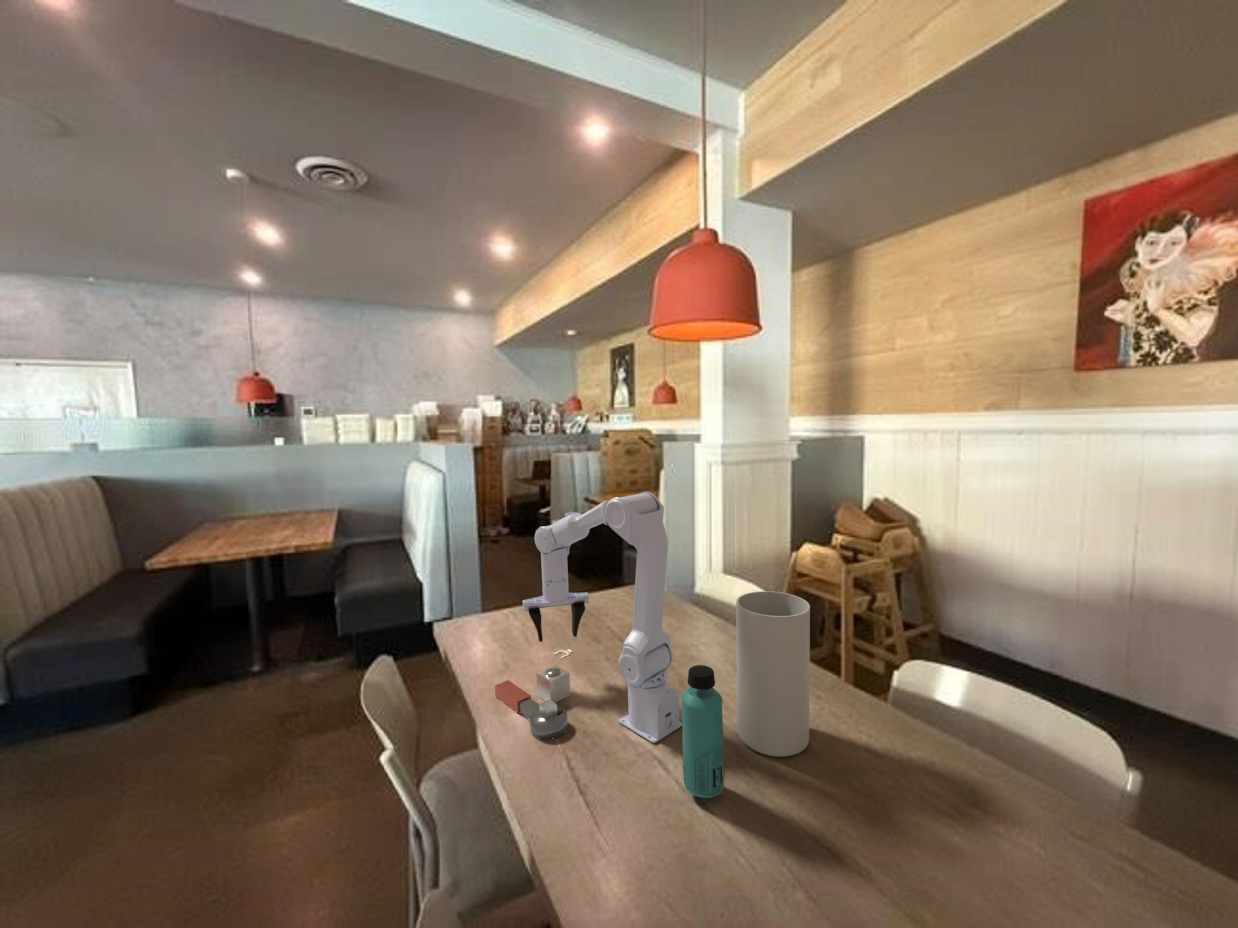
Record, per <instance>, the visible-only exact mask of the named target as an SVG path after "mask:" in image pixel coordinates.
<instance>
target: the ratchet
mask: <svg viewBox="0 0 1238 928" xmlns="http://www.w3.org/2000/svg"><path fill="white" fill-rule="evenodd" d="M494 691H495V696H496V697H495V698H496V699H498V698H499V699H500V700H499V699H498V700H499V701H501V702H502V701H503V702H504V703H506V704H507V705H508V706H509V707H508V706H507V705H506V704H505V705H506V706H507V707H508V708H510V707H511V708H512V709H513V711H514V710H515V711H516V712H518V713H519V712H520V713H521V714H523V716H522V717H524V716H525V717H526V718H527V719H526V718H525V717H524V718H525V719H526V720H528V719H529V720H530V721H529V720H528V721H529V728H530V729H529V730H530V731H531V732H530V735H531V736H532V735H533V736H535V737H538V738H540V739H539V740H541V739H551V740H553V739H552V738H555V739H557V738H556V737H558V738H559V736H560V737H561V735H562V734H563V735H564V734H566V732H567V730H568V713H567V710H566V709H564V707H562V706H558V705H557V702H555V703H554V702H553V701H551V700H547V701H545V700H544V702H541V703H538V702H536V701H535V700H533V699H532V695H531V694H530V693H528V692H527V691H525V690H523V688H520V687H519V686H518V685H516V684H515V683H514V682H512V681H510V680H509V679H507V680H505V681H502V682H500V683H497V684H496V685H494ZM503 702H502V703H503ZM504 703H503V704H504ZM511 708H510V709H511ZM512 709H511V710H512ZM515 711H514V712H515ZM516 712H515V713H516ZM518 713H517V714H518ZM520 713H519V714H520ZM521 714H520V715H521ZM563 735H562V736H563ZM533 736H532V737H533ZM535 737H534V738H535Z"/></svg>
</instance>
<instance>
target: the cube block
mask: <svg viewBox="0 0 1238 928" xmlns="http://www.w3.org/2000/svg"><path fill="white" fill-rule="evenodd" d="M570 674H571V673H570V672H569V671H567V670H565V669H563V668H562V667H560V666H559V665H557V664H555V665H552V666H550V667H547V668H545V669H543V670H540V671H538V672H536V673H535V675H536V691H537V692H536V693H537V694H536V695H538V696H537V697H539V698H540V697H541V698H540V699H542V700H543V699H544V700H543V701H544V702H545V701H547V700H551V701H553V702H554V703H558V702H559V701H561V700H564V699H566V698H568V697H571V680H570V679H571V677H570Z"/></svg>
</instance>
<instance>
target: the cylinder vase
mask: <svg viewBox="0 0 1238 928" xmlns="http://www.w3.org/2000/svg"><path fill="white" fill-rule="evenodd" d="M735 608H736V610H735V614H736V616H735V621H736V624H735V625H736V626H735V627H736V630H735V632H736V634H735V635H736V639H735V640H736V732H737V734H738V736H739V738H740V740H741V741H742V742H743V743H744V744H745V745H746V746H747V747H748V748H750V749H751V750H753V751H755V752H757V753H759V754H762V755H766V756H770V757H774V758H775V757H776V758H777V757H778V758H783V757H791V756H795V755H798V754H800V753H801V752H803V751H804V750H805V749H806V748H807V746H808V745H809V742H810V668H811V667H810V665H811V664H810V663H811V662H810V650H811V649H810V648H811V647H810V646H811V645H810V643H811V641H810V639H811V638H810V637H811V634H810V633H811V631H810V629H811V622H810V621H811V617H810V616H811V606H810V603H809V602H808V601H807V600H805V599H804V598H802V597H799V596H798V595H795V594H791V593H786V592H780V591H772V590H770V591H769V590H762V591H760V590H759V591H751V592H747V593H744V594H741V595H740V596H737V598H736V600H735Z"/></svg>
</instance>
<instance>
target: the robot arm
mask: <svg viewBox="0 0 1238 928" xmlns="http://www.w3.org/2000/svg"><path fill="white" fill-rule="evenodd" d="M664 514H665V506H664V505H663V504H662V503H661V501H660V500H659V499H658V498H657V496H656V495H655V494H653V493H652V492H650V491H643V492H640V493H637V494H631V495H626V496H622V497H612V498H610V499H609V500H604V501H602V502H601V503H599V504H598V505H596V506H593V508H591V509H589V510H587V511H586V512H584V513H583V514H582V513H580V512H573V510H572V511H568V512H566V513H564V517H563V518H560V519H554V520H552V523H551V525H550V524H549V525H546V526H545V525H544V526H539V527H538V528H537V529H536V530H535V534H534V543H535V546H536V548H537V550H538V551H539V552H540V559H541V560H540V562H541V564H540V565H541V581H542V583H541V584H542V595H541V596H537V597H532V598H527V599H524V600H522V609H523V612H528V614H529V617H530V620H531V621H532V622H533V624H534V627H535V629H536V633H537V638H538V642H541V643H542V642H543V640H544V639H543V630H542V629H543V628H542V613H541V609H547V608H552V607H560V606H561V607H562V606H569V605H570V606H571V607H570V609H571V632H572V635H573V637H575V638H577V637H578V631H579V626H580V623H581V620H582V618H583V616H584V613H585V611H586V605H585V604H589V603H590V595H589V593H588V592H585V591H584V592H569V573H568V572H569V570H568V567H569V566H568V556H569V554H570V547H571V545H572V544H574V543H576V542H578V541H581V540H583V539H585V538H587V536H588V535H589V533H590V529H592V528H594V527H597V526H599V525H602V524H604V525H605V526H609V528H611V530H612V531H614V532H615V533H616V534H617V535H618V536H620V537H621V538H622V539H623V540H624V541H625V542H626V543H628V544H629V545H631V546H633V547H634V548H635V549H636V562H635V563H636V565H635V581H634V582H635V584H634V595H633V596H634V599H633V614H632V617H633V618H632V629H631V631H630V632H629V634H628V635H627V637H626V638H625V640H624V641H623V643H622V651H621V654H620V656H619V657H618V661H617V663H618V665H617V666H618V670H619V673H620V676H621V677H622V679H623V680H624V682H625V683H627V705H628V706H627V707H628V709H627V710H628V714H626V715H625V716H623V717H621V718H619V719H618V723H620V724H621V725H623V726H625V728H628V729H630V730H631V731H632V732H634V733H636V734H638V736H641V737H642V738H644V739H645V740H647V741H649V742H650V743H651V744H656V743H657V742H659V741H661V740H662V739H664V738H666V737H667V736H668V735H670V734H672V733H673V732H675V730H677V729H679V728H681V727H682V721H680V709H679V708H680V701H679V700H680V699H679V694H678V692H677V690H676V688H675V689H674V687H672V686H671V685H670V683H668V681H667V678H666V677H667V675H668V669H669V668H670V666H671V665H672V663H673V661H674V654H673V653H674V652H673V650H672V646H671V635H670V634H668V633H667V632H666V631H665V630H664V629H663V618H664V605H665V592H666V591H665V590H666V589H665V588H666V576H667V559H668V548H669V546H668V545H669V541H668V536H667V532H666V528H665V524H664Z"/></svg>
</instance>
